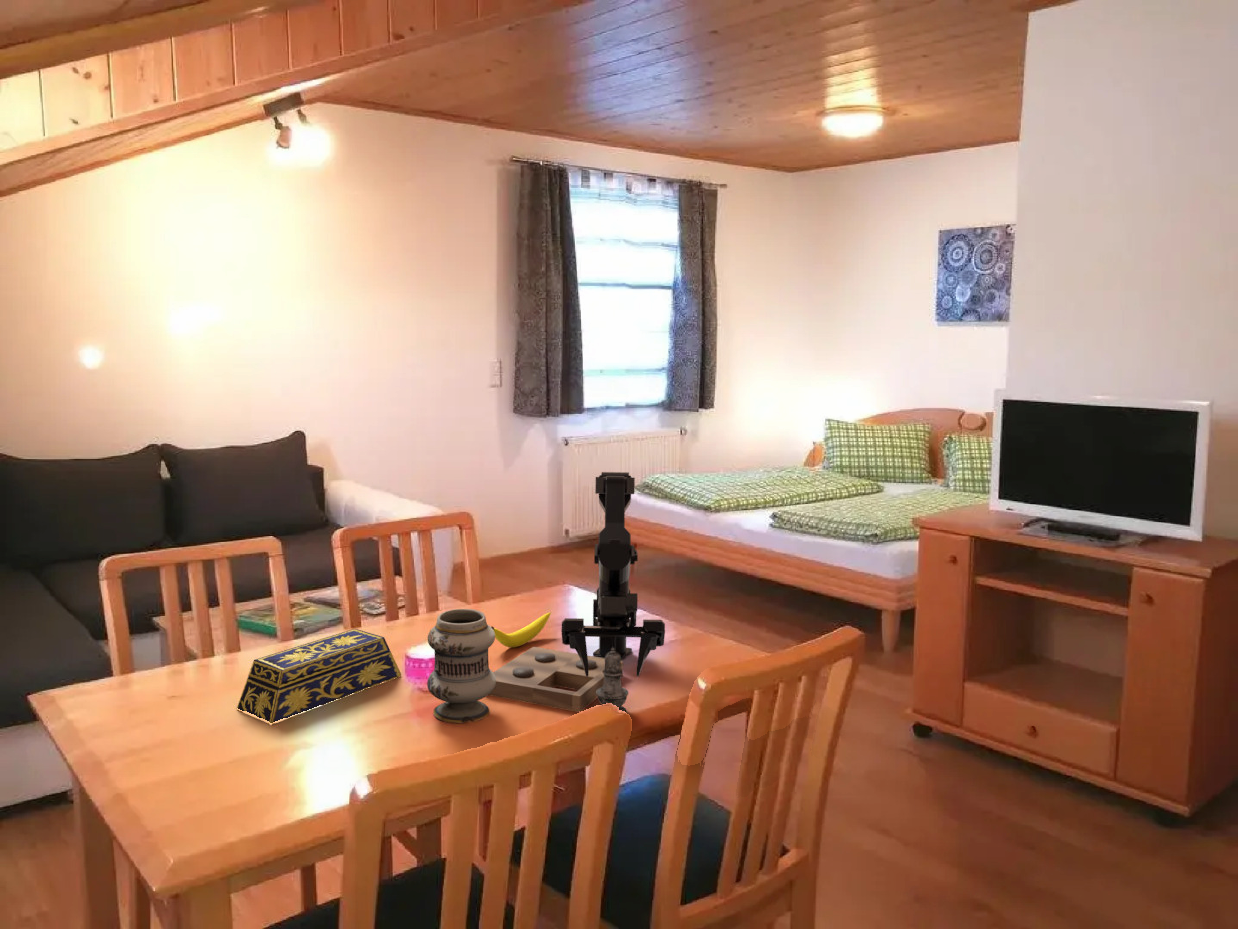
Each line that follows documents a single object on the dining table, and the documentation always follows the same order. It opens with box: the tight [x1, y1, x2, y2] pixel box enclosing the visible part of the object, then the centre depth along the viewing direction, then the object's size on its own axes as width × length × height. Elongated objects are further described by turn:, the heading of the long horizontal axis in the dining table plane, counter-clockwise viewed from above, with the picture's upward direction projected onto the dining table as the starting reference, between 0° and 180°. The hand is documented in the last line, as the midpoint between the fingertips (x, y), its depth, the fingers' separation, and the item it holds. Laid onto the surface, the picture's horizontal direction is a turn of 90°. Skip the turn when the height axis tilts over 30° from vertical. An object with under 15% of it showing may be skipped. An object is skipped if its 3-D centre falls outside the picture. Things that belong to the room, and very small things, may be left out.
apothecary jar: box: [426, 608, 496, 724], centre depth 176 cm, size 12×12×18 cm
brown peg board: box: [488, 646, 624, 713], centre depth 191 cm, size 20×20×4 cm
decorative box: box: [236, 628, 402, 723], centre depth 185 cm, size 11×30×9 cm, turn 144°
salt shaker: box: [596, 647, 630, 713], centre depth 178 cm, size 6×6×12 cm
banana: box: [490, 611, 552, 648], centre depth 213 cm, size 3×19×6 cm, turn 144°
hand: (612, 675), depth 176 cm, fingers open, 9 cm apart
